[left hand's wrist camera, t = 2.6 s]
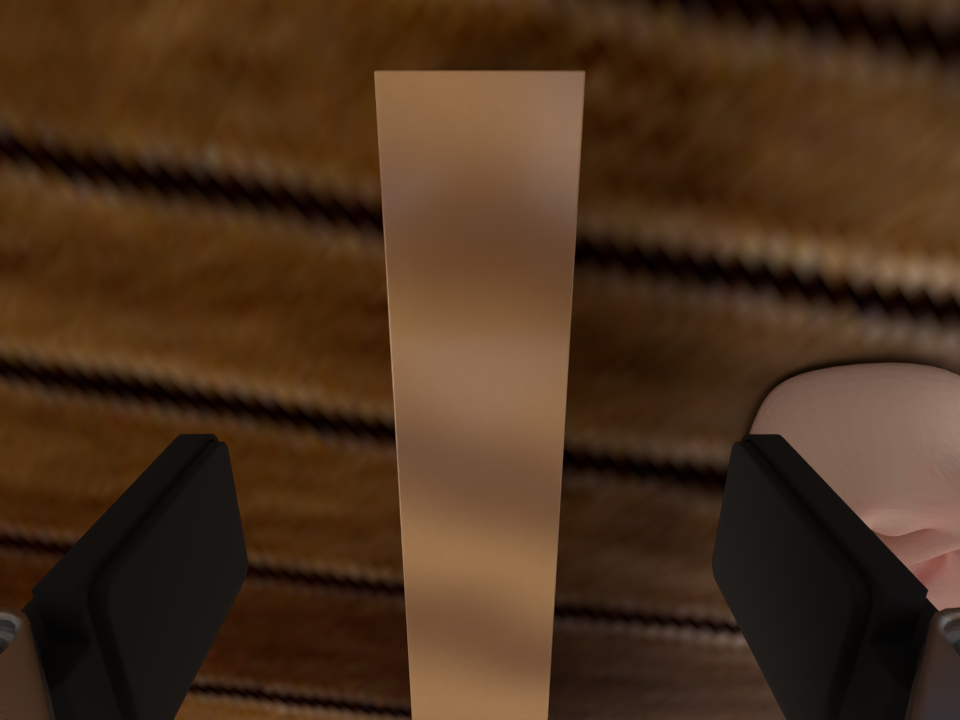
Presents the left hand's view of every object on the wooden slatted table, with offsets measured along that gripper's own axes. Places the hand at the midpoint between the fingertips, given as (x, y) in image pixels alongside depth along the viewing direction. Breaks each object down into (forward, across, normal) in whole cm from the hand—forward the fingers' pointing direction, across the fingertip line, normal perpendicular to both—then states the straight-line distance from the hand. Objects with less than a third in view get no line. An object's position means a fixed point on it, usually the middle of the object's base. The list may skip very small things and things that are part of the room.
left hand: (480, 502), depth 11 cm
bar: (+13, 0, -29) cm, 32 cm away
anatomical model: (+13, +17, -8) cm, 23 cm away
